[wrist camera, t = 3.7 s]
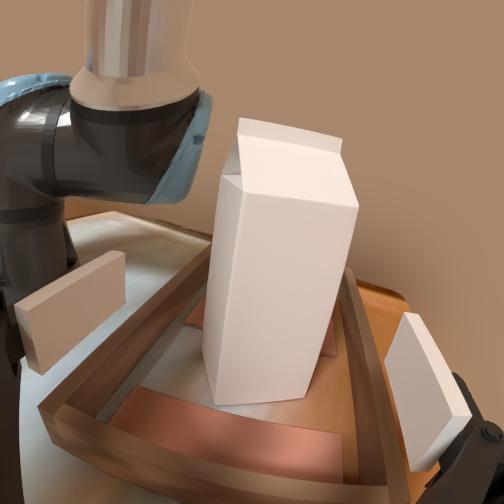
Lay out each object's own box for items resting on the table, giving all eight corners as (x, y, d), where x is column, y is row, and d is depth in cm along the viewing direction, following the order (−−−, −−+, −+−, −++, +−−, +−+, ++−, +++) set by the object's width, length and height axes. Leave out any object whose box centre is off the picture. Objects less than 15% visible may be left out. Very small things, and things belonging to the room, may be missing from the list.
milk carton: (304, 399, 23) (372, 141, 17) (213, 407, 21) (255, 113, 15) (276, 348, 29) (318, 137, 23) (200, 349, 27) (228, 120, 21)
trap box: (52, 442, 14) (37, 406, 13) (212, 262, 48) (215, 239, 47) (380, 528, 11) (410, 502, 10) (344, 289, 45) (350, 267, 44)
